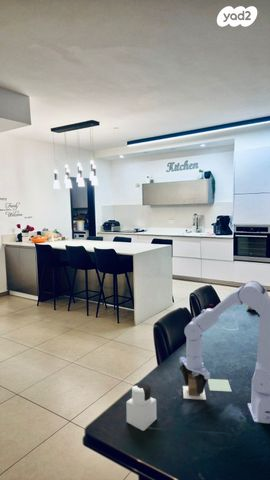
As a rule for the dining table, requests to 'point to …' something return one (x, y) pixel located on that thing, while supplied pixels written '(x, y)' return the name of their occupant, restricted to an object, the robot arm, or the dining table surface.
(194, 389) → the walnut block
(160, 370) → the dining table surface
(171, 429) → the dining table surface
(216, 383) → the sage mat
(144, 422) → the medicine bottle
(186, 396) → the white tile
